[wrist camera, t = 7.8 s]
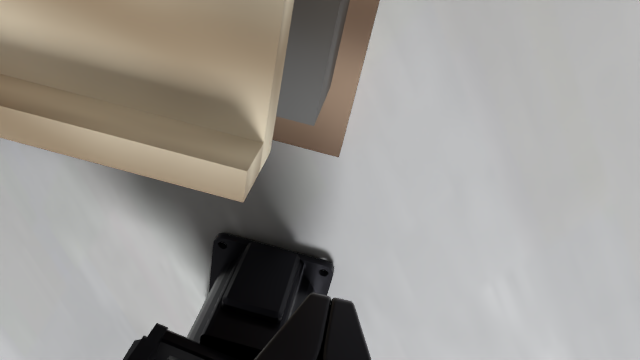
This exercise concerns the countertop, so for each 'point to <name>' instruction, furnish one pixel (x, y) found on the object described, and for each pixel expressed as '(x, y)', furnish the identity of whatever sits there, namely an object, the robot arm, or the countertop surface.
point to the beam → (147, 85)
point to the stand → (322, 71)
